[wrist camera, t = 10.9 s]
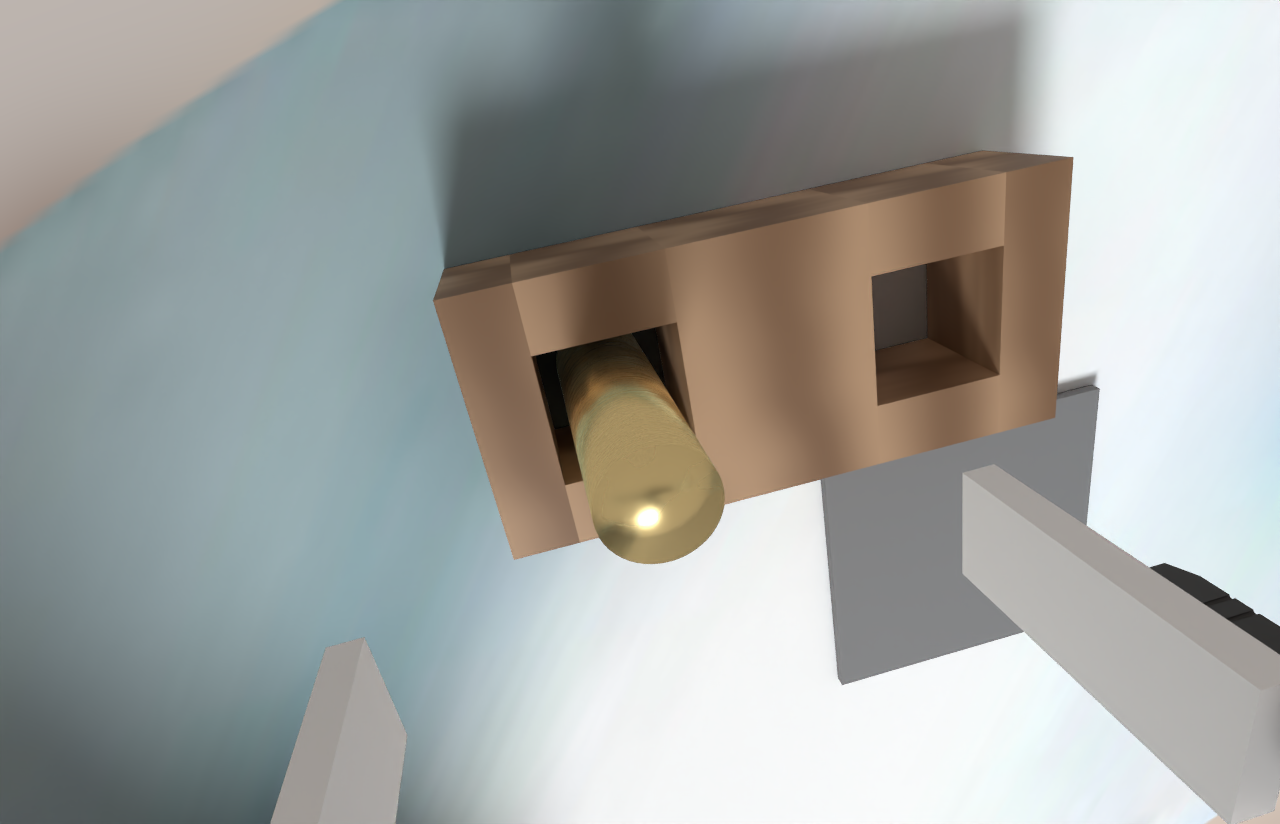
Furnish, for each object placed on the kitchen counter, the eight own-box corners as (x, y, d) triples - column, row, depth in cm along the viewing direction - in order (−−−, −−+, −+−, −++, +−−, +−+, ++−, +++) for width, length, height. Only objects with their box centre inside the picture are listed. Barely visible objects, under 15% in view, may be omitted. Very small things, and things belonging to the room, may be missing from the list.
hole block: (511, 494, 31) (514, 559, 26) (443, 268, 27) (433, 300, 22) (978, 376, 33) (1055, 417, 28) (982, 150, 29) (1073, 157, 24)
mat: (838, 678, 39) (842, 685, 38) (818, 455, 33) (823, 460, 32) (1071, 610, 40) (1077, 616, 40) (1091, 384, 34) (1099, 388, 34)
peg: (566, 408, 30) (606, 578, 19) (547, 330, 28) (578, 464, 17) (647, 389, 30) (732, 545, 19) (632, 311, 29) (715, 430, 18)
